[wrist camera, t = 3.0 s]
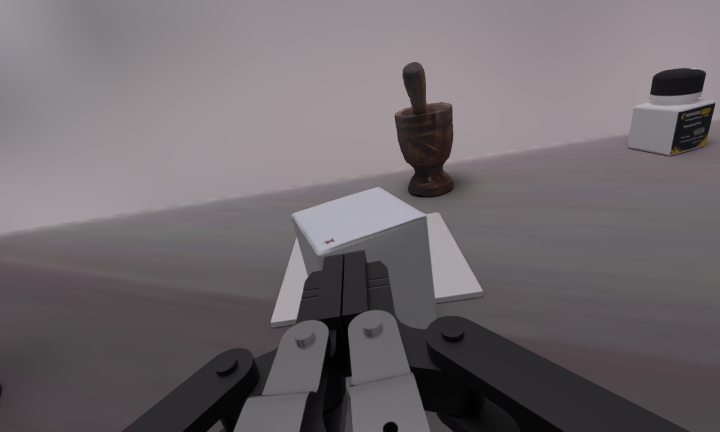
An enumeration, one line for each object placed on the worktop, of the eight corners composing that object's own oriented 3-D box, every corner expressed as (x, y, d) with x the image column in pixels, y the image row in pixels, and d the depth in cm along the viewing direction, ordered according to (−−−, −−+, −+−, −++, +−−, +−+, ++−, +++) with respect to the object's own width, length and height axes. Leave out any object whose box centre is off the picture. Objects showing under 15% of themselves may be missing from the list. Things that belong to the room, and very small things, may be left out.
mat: (272, 327, 33) (270, 322, 33) (298, 238, 50) (297, 234, 50) (483, 296, 32) (482, 291, 32) (438, 216, 49) (438, 212, 49)
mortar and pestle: (471, 200, 52) (466, 53, 44) (414, 211, 52) (397, 65, 44) (447, 176, 62) (439, 54, 54) (399, 185, 62) (384, 64, 54)
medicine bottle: (670, 157, 54) (687, 74, 49) (626, 148, 60) (637, 74, 55) (706, 146, 55) (726, 64, 50) (659, 139, 62) (672, 66, 57)
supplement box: (445, 367, 26) (431, 214, 21) (353, 411, 24) (313, 254, 19) (399, 311, 33) (380, 183, 27) (324, 342, 31) (288, 211, 25)
